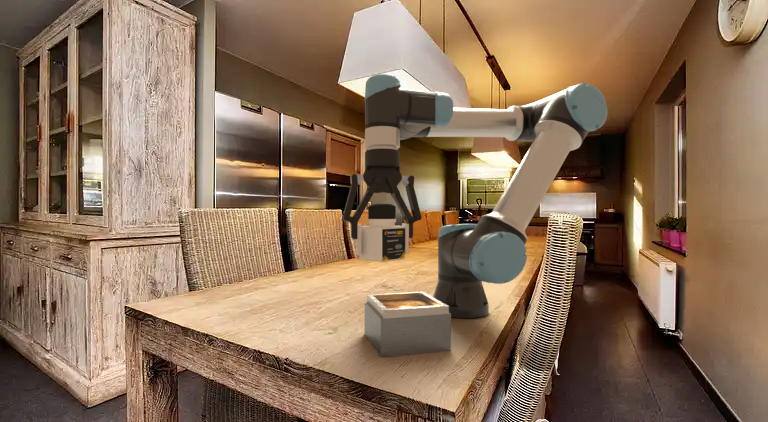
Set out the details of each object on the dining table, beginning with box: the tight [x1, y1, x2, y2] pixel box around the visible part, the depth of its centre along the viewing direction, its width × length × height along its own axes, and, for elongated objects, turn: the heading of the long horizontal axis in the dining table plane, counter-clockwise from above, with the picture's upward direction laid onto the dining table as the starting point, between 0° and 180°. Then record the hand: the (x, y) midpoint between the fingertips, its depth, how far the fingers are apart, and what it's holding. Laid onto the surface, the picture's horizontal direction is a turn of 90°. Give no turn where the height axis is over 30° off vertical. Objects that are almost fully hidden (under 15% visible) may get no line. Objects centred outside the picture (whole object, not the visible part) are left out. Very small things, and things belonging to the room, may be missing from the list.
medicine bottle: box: [359, 203, 406, 263], centre depth 78 cm, size 7×7×12 cm
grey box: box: [364, 291, 452, 358], centre depth 74 cm, size 14×13×8 cm
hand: (382, 253), depth 78 cm, fingers closed on medicine bottle, 10 cm apart
